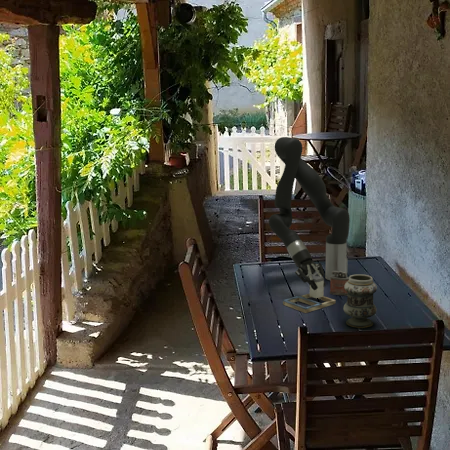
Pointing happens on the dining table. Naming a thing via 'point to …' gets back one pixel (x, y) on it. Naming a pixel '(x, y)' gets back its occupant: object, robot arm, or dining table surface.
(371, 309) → the apothecary jar
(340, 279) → the lighter
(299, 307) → the bay tray
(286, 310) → the dining table surface
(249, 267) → the dining table surface
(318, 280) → the cream tall block
